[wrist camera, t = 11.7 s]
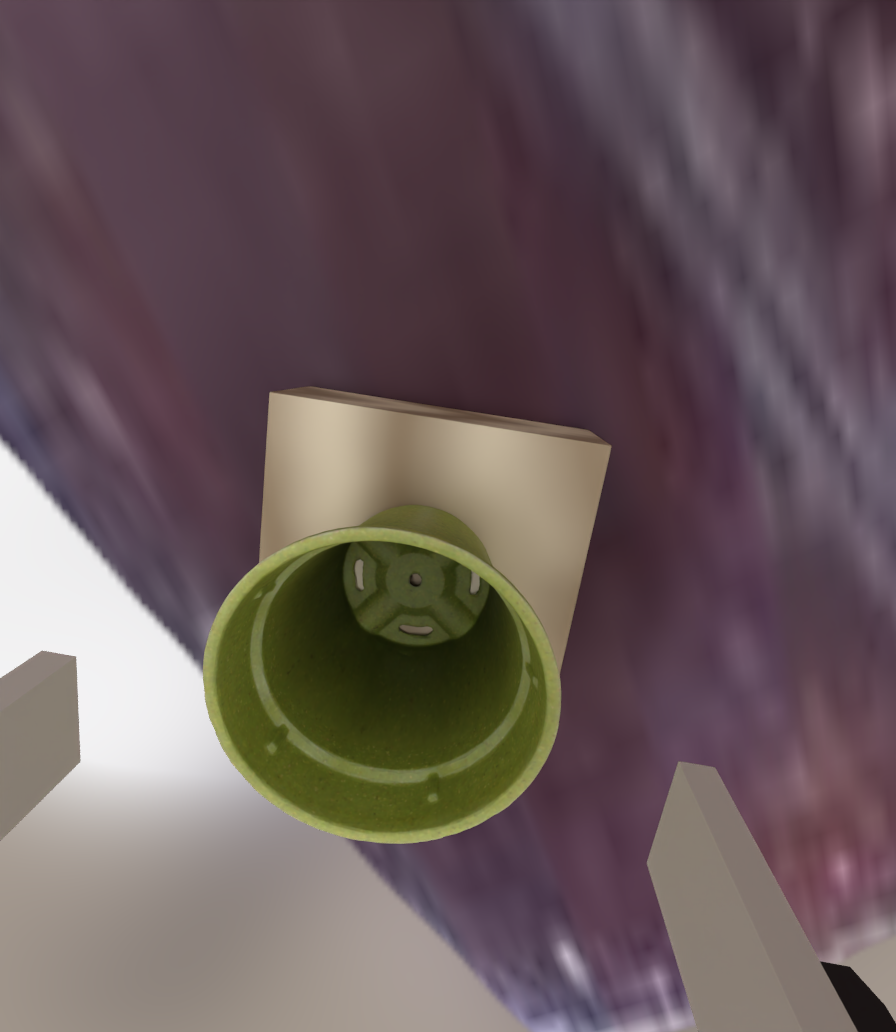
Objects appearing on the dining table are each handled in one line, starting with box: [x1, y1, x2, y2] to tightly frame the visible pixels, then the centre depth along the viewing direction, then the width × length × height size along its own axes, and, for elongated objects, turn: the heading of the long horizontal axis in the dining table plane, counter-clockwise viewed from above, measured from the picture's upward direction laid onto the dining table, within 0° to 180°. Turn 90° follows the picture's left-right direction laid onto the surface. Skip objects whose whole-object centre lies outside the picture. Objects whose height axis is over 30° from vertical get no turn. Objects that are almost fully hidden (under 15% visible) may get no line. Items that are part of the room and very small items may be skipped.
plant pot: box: [203, 505, 561, 844], centre depth 19 cm, size 9×9×9 cm
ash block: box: [259, 386, 612, 675], centre depth 26 cm, size 13×13×5 cm
